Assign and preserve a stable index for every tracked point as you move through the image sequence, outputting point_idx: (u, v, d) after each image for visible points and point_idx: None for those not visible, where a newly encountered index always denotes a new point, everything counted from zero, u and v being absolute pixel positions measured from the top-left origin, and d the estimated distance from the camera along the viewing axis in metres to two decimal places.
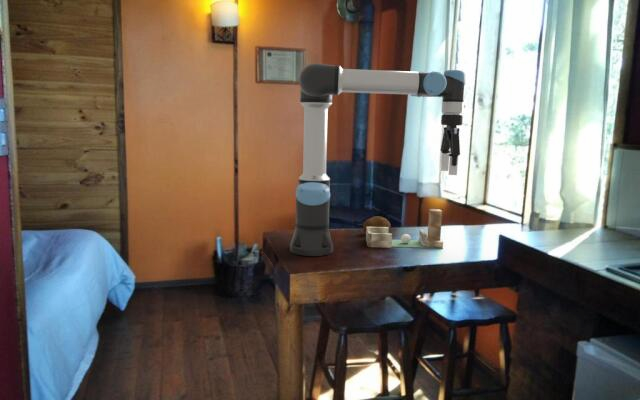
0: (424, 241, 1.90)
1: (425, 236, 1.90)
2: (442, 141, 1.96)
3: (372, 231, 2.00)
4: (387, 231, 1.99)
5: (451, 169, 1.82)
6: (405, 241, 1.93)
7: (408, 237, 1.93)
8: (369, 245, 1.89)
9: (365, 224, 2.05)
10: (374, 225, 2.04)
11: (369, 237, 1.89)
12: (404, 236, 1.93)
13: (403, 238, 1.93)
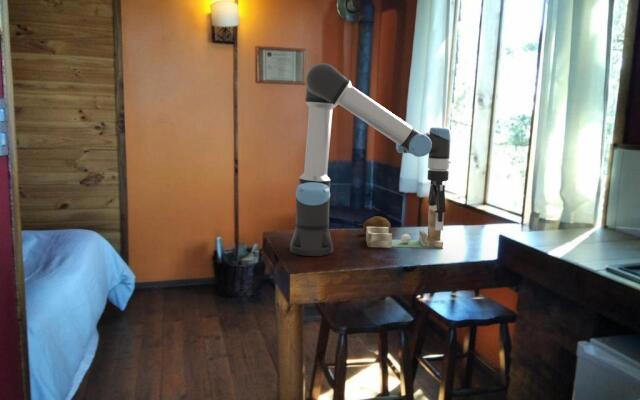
0: (424, 241, 1.90)
1: (425, 236, 1.90)
2: (429, 193, 2.00)
3: (372, 231, 2.00)
4: (387, 231, 1.99)
5: (437, 225, 1.86)
6: (405, 241, 1.93)
7: (408, 237, 1.93)
8: (369, 245, 1.89)
9: (365, 224, 2.05)
10: (374, 225, 2.04)
11: (369, 237, 1.89)
12: (404, 236, 1.93)
13: (403, 238, 1.93)
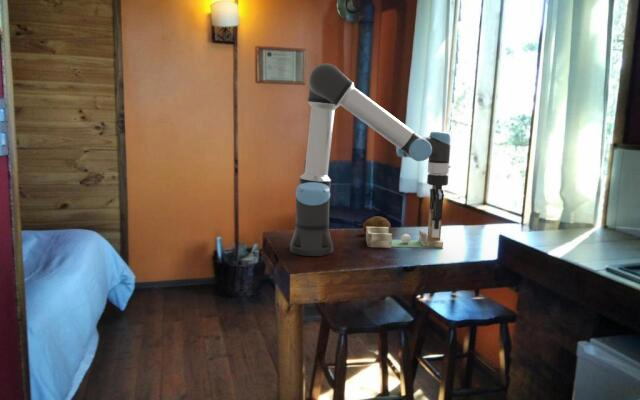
0: (424, 241, 1.90)
1: (425, 236, 1.90)
2: (430, 203, 1.98)
3: (372, 231, 2.00)
4: (387, 231, 1.99)
5: (433, 232, 1.91)
6: (405, 241, 1.93)
7: (408, 237, 1.93)
8: (369, 245, 1.89)
9: (365, 224, 2.05)
10: (374, 225, 2.04)
11: (369, 237, 1.89)
12: (404, 236, 1.93)
13: (403, 238, 1.93)
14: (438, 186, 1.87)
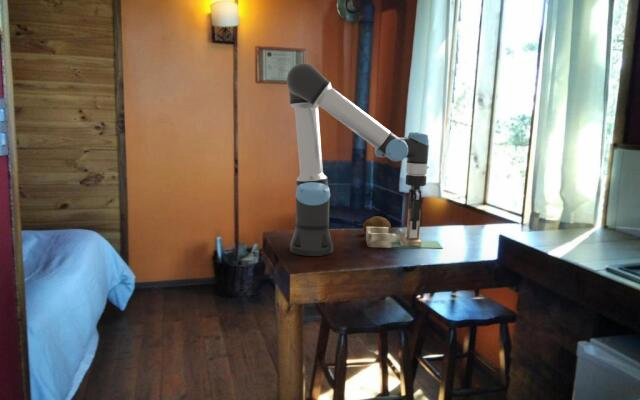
0: (402, 240, 1.90)
1: (403, 235, 1.90)
2: None
3: (372, 231, 2.00)
4: (387, 231, 1.99)
5: (411, 232, 1.92)
6: (396, 239, 1.93)
7: None
8: (369, 245, 1.89)
9: (365, 224, 2.05)
10: (374, 225, 2.04)
11: (369, 237, 1.89)
12: None
13: (394, 242, 1.94)
14: (416, 186, 1.88)
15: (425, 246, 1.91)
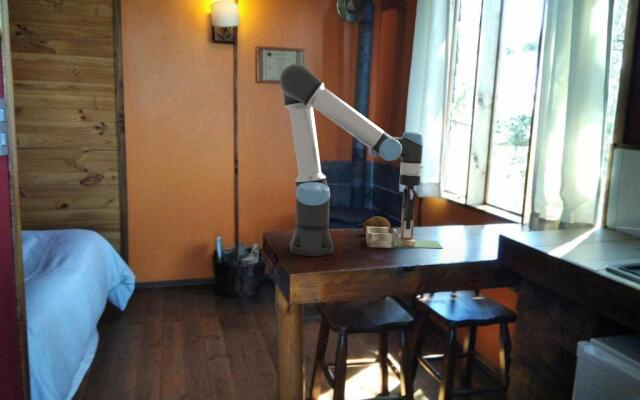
0: (396, 240, 1.90)
1: (397, 235, 1.90)
2: None
3: (372, 231, 2.00)
4: (387, 231, 1.99)
5: (405, 232, 1.92)
6: None
7: None
8: (369, 245, 1.89)
9: (365, 224, 2.05)
10: (374, 225, 2.04)
11: (369, 237, 1.89)
12: None
13: None
14: (410, 186, 1.88)
15: (425, 246, 1.91)
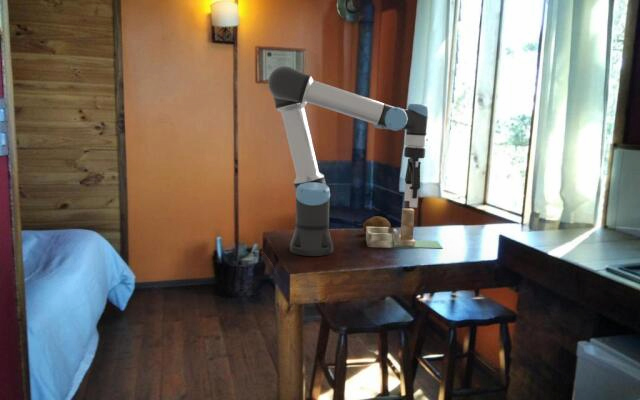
0: (396, 240, 1.90)
1: (397, 235, 1.90)
2: (406, 172, 1.98)
3: (372, 231, 2.00)
4: (387, 231, 1.99)
5: (411, 201, 1.85)
6: None
7: None
8: (369, 245, 1.89)
9: (365, 224, 2.05)
10: (374, 225, 2.04)
11: (369, 237, 1.89)
12: None
13: None
14: None
15: (425, 246, 1.91)
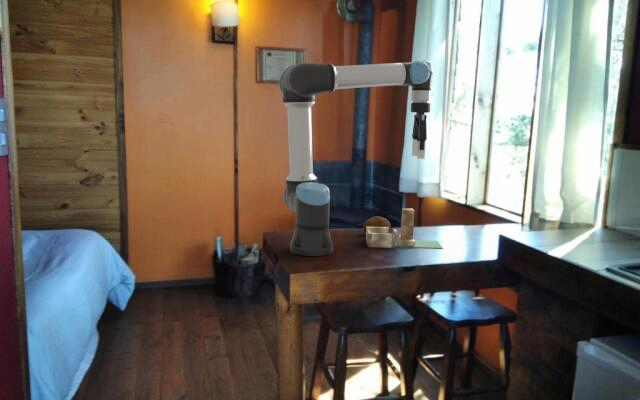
0: (396, 240, 1.90)
1: (397, 235, 1.90)
2: (413, 128, 2.09)
3: (372, 231, 2.00)
4: (387, 231, 1.99)
5: (419, 153, 1.96)
6: None
7: None
8: (369, 245, 1.89)
9: (365, 224, 2.05)
10: (374, 225, 2.04)
11: (369, 237, 1.89)
12: None
13: None
14: None
15: (425, 246, 1.91)
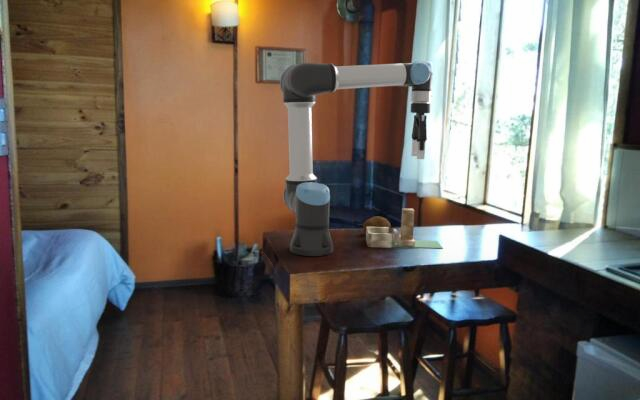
0: (396, 240, 1.90)
1: (397, 235, 1.90)
2: (413, 128, 2.10)
3: (372, 231, 2.00)
4: (387, 231, 1.99)
5: (418, 154, 1.96)
6: None
7: None
8: (369, 245, 1.89)
9: (365, 224, 2.05)
10: (374, 225, 2.04)
11: (369, 237, 1.89)
12: None
13: None
14: None
15: (425, 246, 1.91)
